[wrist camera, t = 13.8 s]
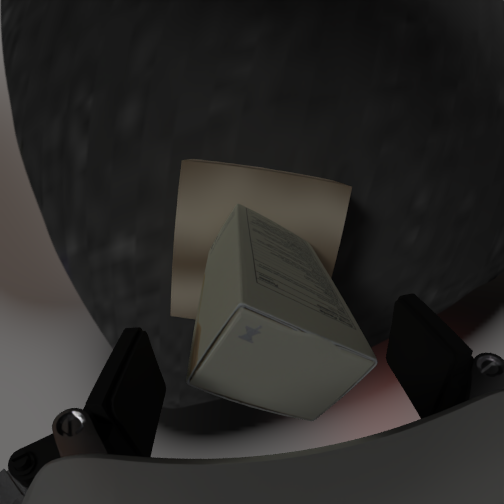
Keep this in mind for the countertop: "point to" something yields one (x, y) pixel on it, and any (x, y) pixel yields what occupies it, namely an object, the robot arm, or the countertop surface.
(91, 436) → the robot arm
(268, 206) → the birch block
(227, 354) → the skincare box
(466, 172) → the countertop surface
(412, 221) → the countertop surface
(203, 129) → the countertop surface
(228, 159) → the countertop surface
